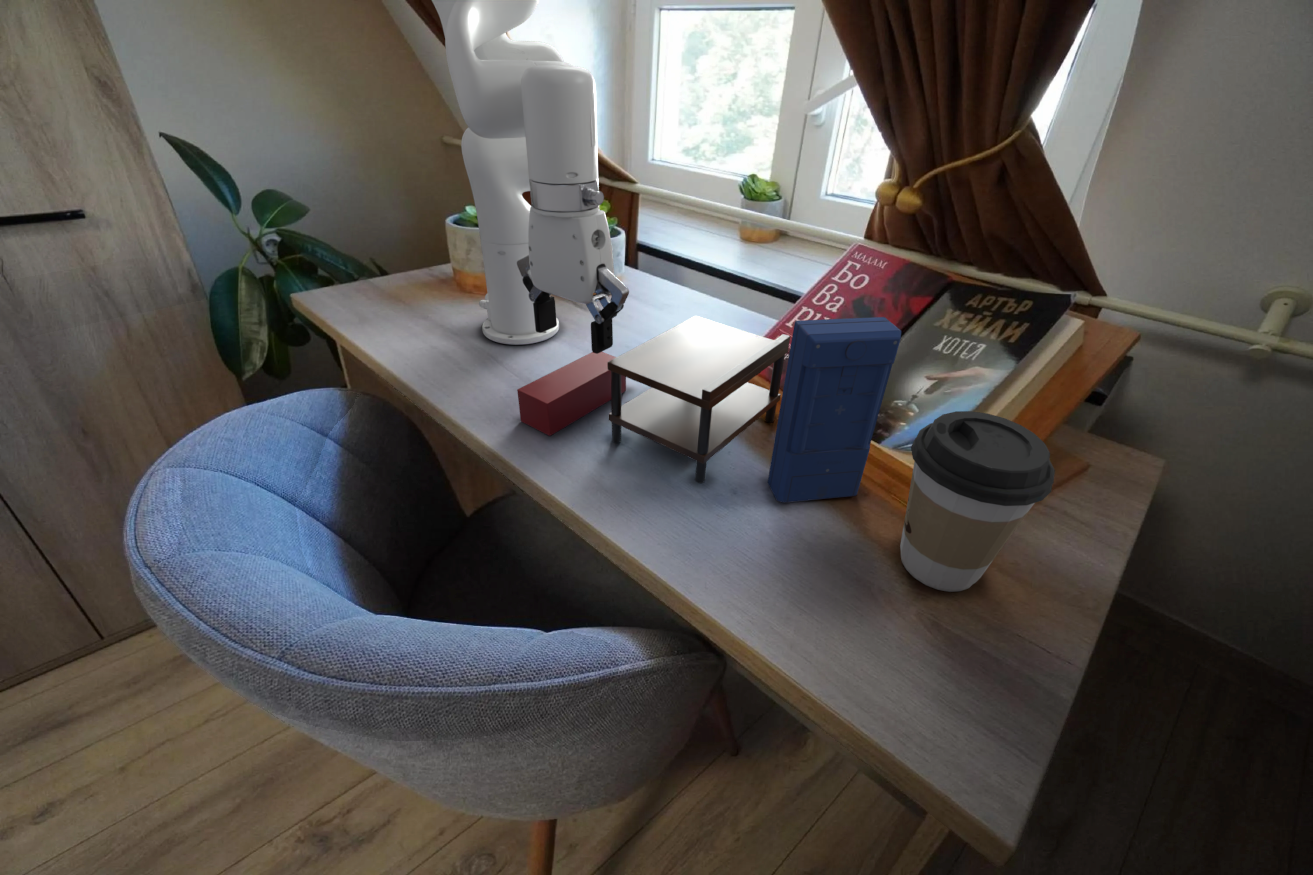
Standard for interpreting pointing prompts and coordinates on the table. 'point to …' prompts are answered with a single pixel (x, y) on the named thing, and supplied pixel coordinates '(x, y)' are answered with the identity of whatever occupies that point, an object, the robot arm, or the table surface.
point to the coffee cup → (969, 495)
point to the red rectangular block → (567, 393)
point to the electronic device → (830, 406)
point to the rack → (697, 387)
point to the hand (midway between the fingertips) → (573, 339)
